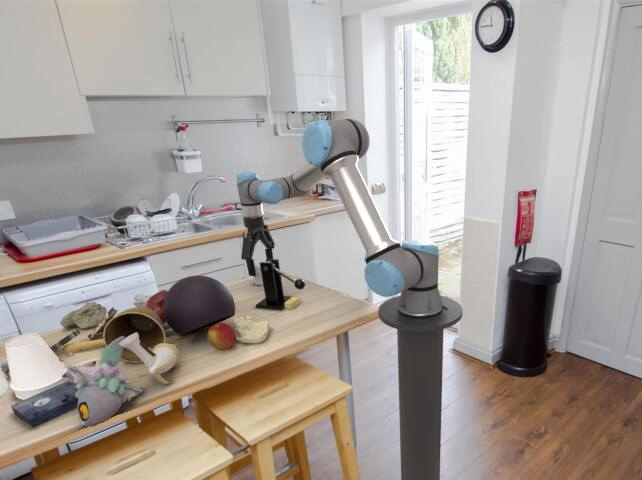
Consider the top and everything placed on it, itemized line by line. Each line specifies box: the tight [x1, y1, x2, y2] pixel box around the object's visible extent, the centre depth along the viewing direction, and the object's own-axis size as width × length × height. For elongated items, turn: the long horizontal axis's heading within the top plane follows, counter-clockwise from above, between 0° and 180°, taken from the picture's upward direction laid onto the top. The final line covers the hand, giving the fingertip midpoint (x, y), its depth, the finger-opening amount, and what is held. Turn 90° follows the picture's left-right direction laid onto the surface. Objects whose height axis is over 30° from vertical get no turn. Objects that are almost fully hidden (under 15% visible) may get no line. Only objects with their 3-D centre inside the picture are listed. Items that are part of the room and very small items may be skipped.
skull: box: [132, 293, 152, 307], centre depth 158 cm, size 7×15×6 cm, turn 85°
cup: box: [4, 332, 68, 401], centre depth 113 cm, size 12×12×14 cm
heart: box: [145, 289, 169, 324], centre depth 150 cm, size 12×8×10 cm
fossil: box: [59, 301, 108, 330], centre depth 152 cm, size 14×10×10 cm
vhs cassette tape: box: [10, 382, 78, 428], centre depth 110 cm, size 18×3×10 cm
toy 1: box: [48, 328, 82, 353], centre depth 130 cm, size 14×2×10 cm
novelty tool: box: [62, 322, 176, 358], centre depth 137 cm, size 8×3×30 cm
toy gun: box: [119, 332, 181, 385], centre depth 119 cm, size 10×21×15 cm, turn 13°
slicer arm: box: [265, 261, 306, 290], centre depth 156 cm, size 15×4×4 cm, turn 76°
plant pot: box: [102, 306, 166, 364], centre depth 131 cm, size 15×15×16 cm
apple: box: [207, 322, 237, 351], centre depth 133 cm, size 8×8×8 cm
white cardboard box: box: [252, 262, 263, 286], centre depth 181 cm, size 6×6×7 cm
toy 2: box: [59, 336, 145, 428], centre depth 105 cm, size 14×16×15 cm
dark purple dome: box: [163, 275, 236, 337], centre depth 137 cm, size 20×20×16 cm
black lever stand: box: [255, 258, 293, 311], centre depth 159 cm, size 10×10×16 cm
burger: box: [86, 306, 119, 341], centre depth 141 cm, size 12×12×8 cm
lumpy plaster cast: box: [233, 315, 271, 344], centre depth 139 cm, size 11×11×6 cm
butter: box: [284, 296, 301, 310], centre depth 161 cm, size 3×6×2 cm, turn 164°
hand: (262, 270), depth 181 cm, fingers open, 13 cm apart
